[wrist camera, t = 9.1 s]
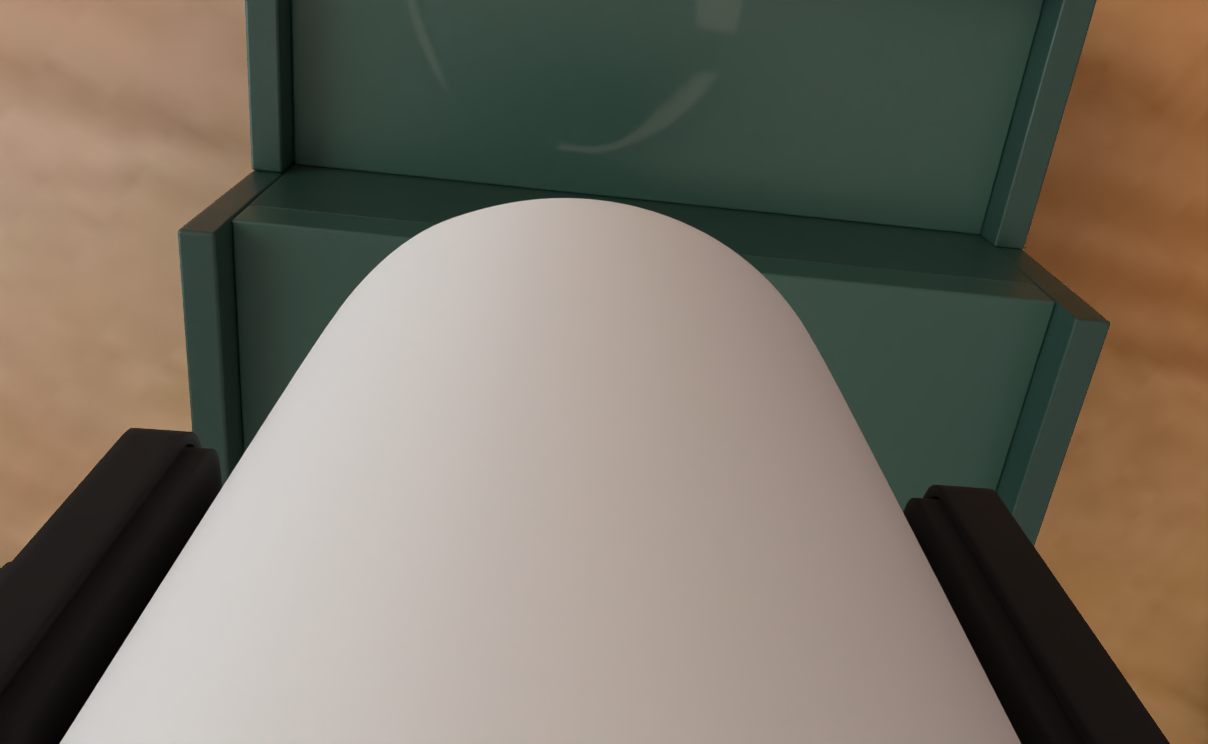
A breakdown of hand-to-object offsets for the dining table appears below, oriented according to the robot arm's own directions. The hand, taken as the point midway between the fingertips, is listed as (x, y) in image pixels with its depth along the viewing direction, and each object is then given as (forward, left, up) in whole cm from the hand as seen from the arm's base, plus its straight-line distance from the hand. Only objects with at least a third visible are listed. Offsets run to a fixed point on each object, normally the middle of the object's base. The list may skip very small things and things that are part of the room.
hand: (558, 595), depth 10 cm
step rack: (+2, -2, -23) cm, 24 cm away
